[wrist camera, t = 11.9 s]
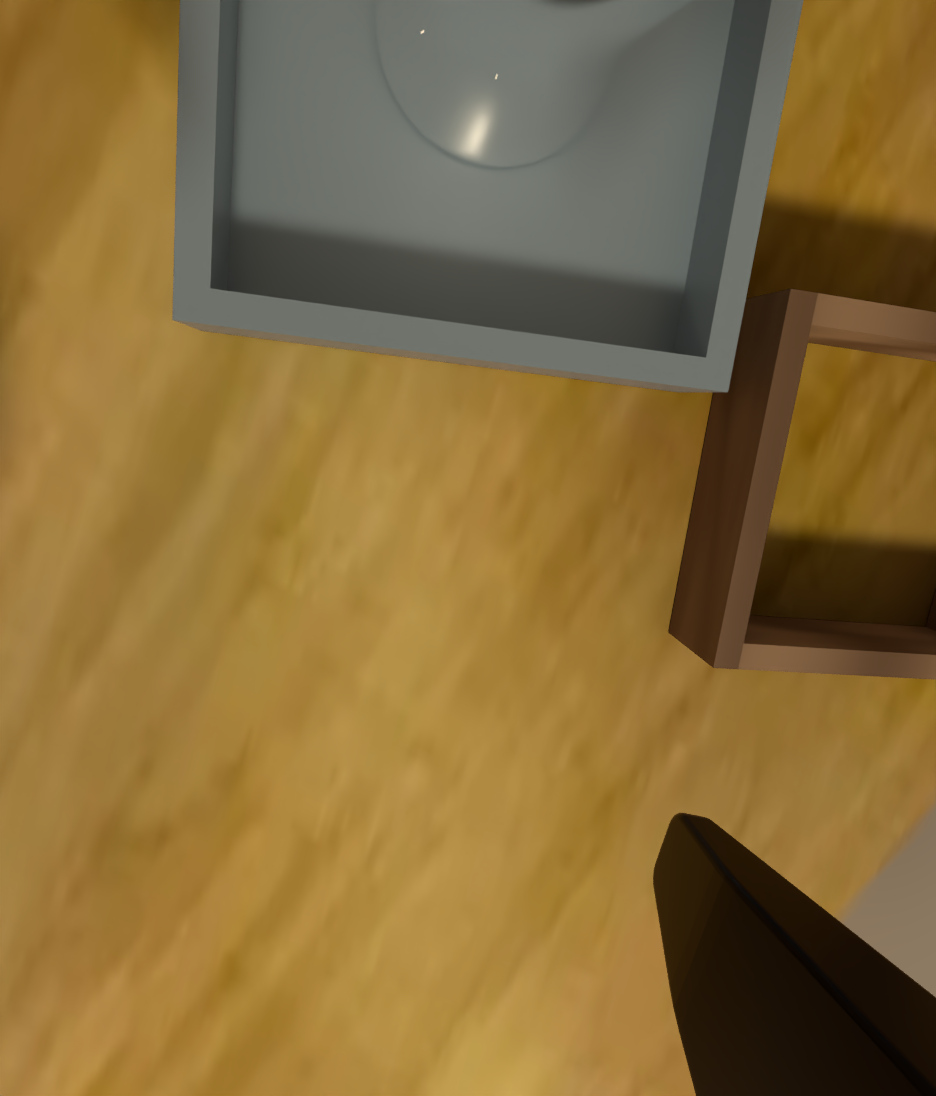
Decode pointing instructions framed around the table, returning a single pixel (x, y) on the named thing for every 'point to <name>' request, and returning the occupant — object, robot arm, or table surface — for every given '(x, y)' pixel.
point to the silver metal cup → (506, 69)
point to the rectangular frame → (750, 486)
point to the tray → (476, 200)
